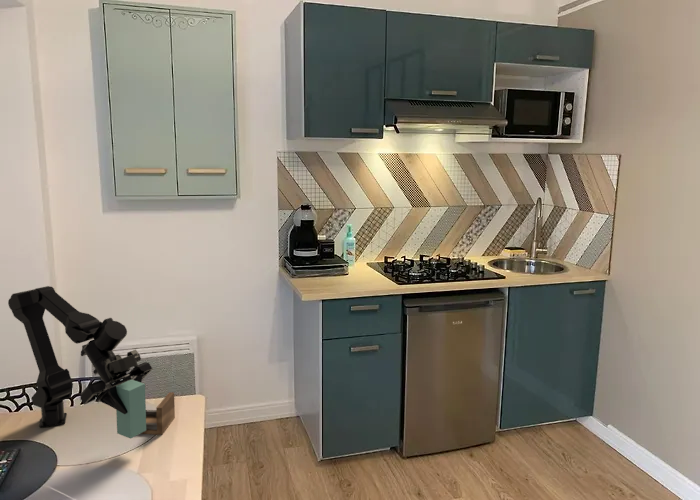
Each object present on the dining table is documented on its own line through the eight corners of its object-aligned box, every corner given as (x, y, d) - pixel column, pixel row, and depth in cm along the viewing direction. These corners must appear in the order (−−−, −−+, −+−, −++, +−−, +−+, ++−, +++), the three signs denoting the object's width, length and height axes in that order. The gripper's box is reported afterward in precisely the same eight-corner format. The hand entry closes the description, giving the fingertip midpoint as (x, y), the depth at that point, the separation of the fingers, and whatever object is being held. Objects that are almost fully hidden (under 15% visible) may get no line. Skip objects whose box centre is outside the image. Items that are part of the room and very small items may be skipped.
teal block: (117, 433, 140) (115, 386, 138) (132, 425, 145) (131, 379, 142) (130, 438, 138) (129, 390, 136) (146, 430, 143) (145, 383, 140)
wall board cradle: (130, 433, 152) (129, 406, 150) (144, 416, 161) (144, 391, 160) (162, 434, 151) (161, 408, 150) (174, 417, 161) (174, 392, 160)
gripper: (85, 354, 131) (119, 408, 128) (146, 333, 147) (177, 380, 144) (66, 377, 136) (98, 430, 133) (127, 355, 152) (156, 401, 149)
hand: (134, 409), depth 140 cm, fingers closed on teal block, 5 cm apart
